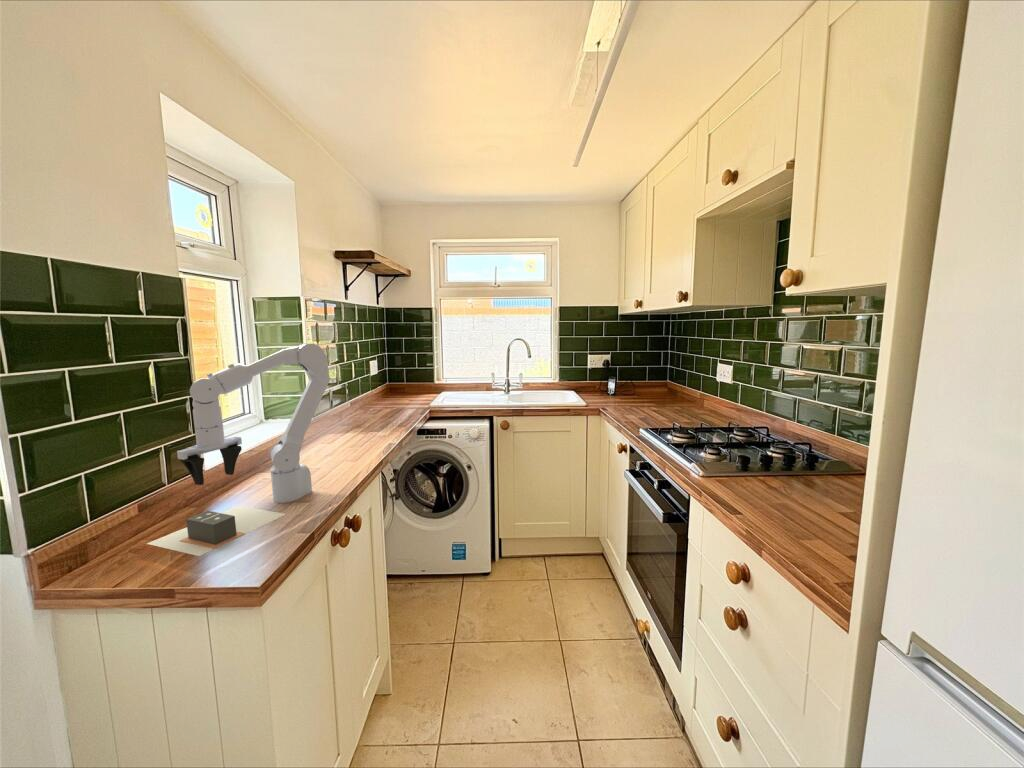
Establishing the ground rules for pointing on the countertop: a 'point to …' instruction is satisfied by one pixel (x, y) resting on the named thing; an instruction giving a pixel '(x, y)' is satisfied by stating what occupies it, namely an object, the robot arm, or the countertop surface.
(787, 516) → the countertop surface
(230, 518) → the domino block
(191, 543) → the cream mat
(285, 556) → the countertop surface
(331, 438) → the countertop surface
